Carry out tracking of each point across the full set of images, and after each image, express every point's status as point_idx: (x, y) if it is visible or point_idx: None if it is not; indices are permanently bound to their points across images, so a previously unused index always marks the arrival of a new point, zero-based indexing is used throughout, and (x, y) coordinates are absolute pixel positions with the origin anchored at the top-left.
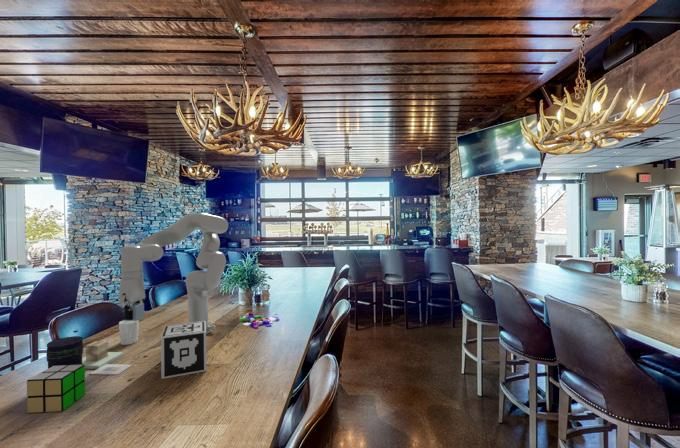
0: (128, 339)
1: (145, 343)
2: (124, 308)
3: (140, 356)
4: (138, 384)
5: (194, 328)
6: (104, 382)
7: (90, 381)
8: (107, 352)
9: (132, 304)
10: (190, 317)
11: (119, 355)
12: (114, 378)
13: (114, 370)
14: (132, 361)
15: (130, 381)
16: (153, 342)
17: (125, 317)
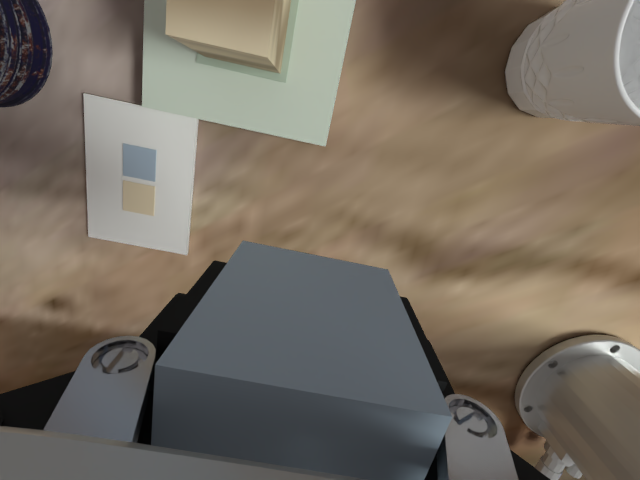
0: (524, 80)
1: (491, 184)
2: (24, 417)
3: (294, 240)
4: (25, 346)
5: None
6: (20, 217)
7: (19, 148)
8: (277, 70)
9: (330, 450)
10: (623, 451)
11: (292, 138)
12: (60, 239)
13: (123, 203)
14: (235, 230)
15: (43, 311)
16: (493, 223)
17: (176, 295)
